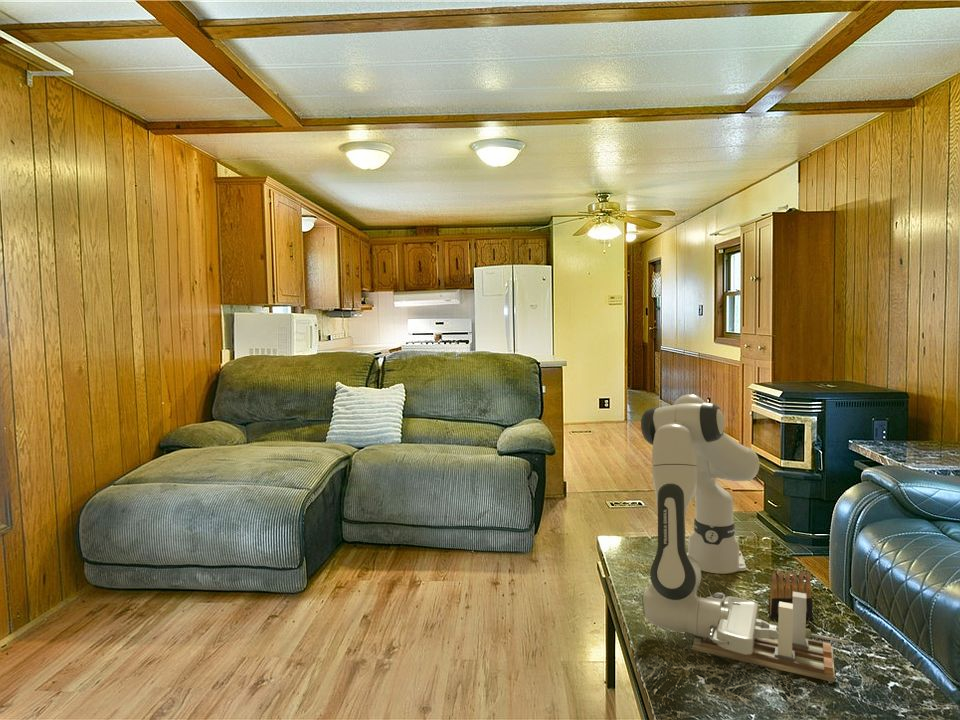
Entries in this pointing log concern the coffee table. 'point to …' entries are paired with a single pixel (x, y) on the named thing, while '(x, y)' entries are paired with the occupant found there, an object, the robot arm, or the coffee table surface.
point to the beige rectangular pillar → (785, 632)
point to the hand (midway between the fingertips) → (778, 632)
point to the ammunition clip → (789, 592)
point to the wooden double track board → (806, 662)
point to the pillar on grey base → (799, 620)
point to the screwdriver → (809, 635)
